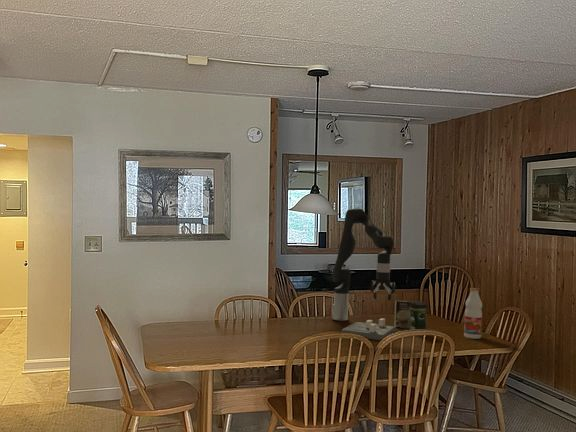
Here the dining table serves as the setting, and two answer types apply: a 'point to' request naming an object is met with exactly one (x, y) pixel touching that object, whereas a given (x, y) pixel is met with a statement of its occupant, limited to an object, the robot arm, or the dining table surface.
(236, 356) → the dining table surface
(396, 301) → the coffee box
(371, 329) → the breaker near
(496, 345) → the dining table surface
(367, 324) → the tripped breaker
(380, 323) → the breaker far
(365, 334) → the grey flat square slab
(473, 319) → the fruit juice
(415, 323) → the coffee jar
